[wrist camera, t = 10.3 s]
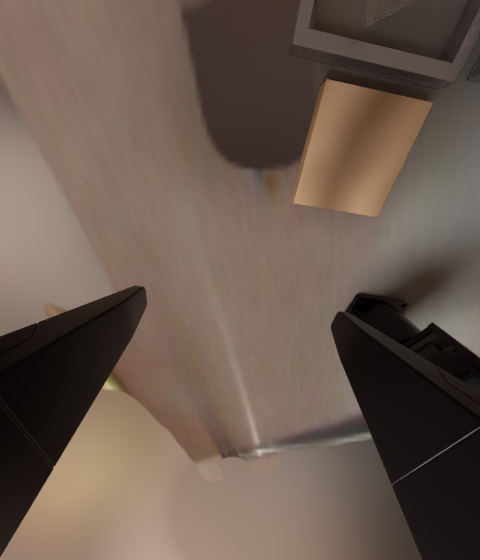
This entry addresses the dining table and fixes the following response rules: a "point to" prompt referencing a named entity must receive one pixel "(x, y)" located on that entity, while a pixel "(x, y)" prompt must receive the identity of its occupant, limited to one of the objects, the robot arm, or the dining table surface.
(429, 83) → the grey rectangular tray
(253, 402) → the dining table surface
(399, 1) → the block with dome knob
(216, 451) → the dining table surface
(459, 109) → the dining table surface
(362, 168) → the stand
